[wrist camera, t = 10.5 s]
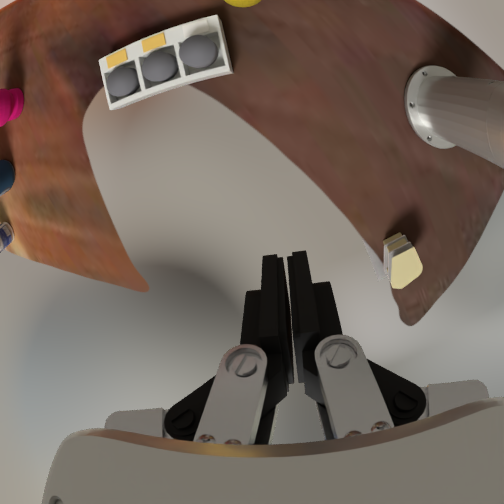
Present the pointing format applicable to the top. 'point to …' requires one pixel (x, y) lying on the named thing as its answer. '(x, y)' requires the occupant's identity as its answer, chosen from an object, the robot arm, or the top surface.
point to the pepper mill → (10, 104)
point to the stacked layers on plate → (396, 261)
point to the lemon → (242, 2)
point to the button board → (170, 44)
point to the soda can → (6, 176)
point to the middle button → (160, 66)
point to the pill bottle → (5, 235)
